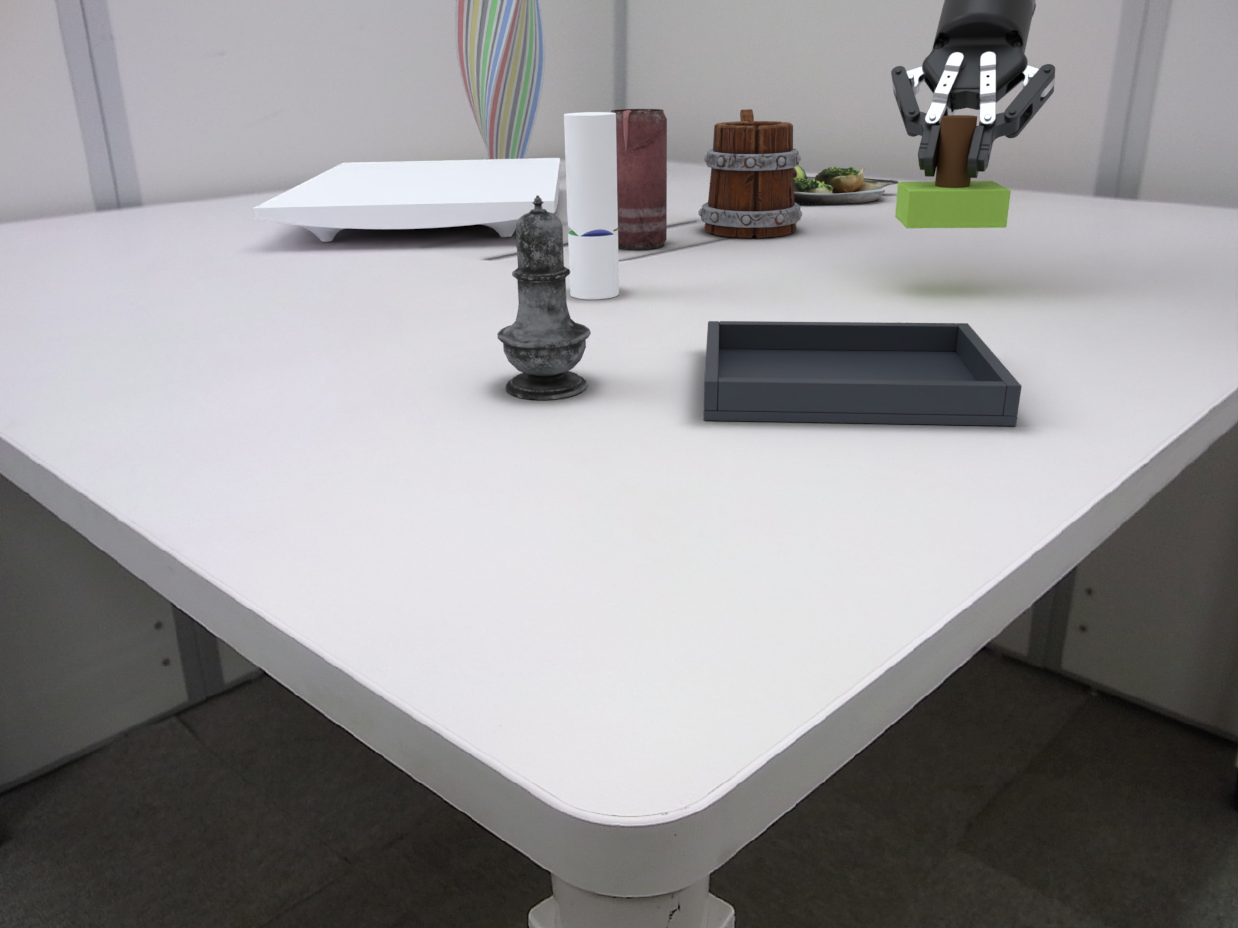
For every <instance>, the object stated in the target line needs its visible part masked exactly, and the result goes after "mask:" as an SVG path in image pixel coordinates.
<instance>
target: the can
mask: <svg viewBox="0 0 1238 928" xmlns="http://www.w3.org/2000/svg"><path fill="white" fill-rule="evenodd" d="M610 112H611V113H616V151H617V209H618V228H617V229H618V249H621V250H629V251H631V250H633V251H634V250H635V251H639V250H640V251H642V250H654V249H659V248H663V246H664V245H665V244H666V241H667V238H668V237H667V233H668V232H667V230H668V229H667V227H668V226H667V225H668V224H667V223H668V218H667V217H668V213H667V212H668V209H667V207H668V202H667V201H668V200H667V199H668V197H667V196H668V195H667V194H668V192H667V191H668V190H667V189H668V183H667V182H668V179H667V178H668V118H667V116H666V114H665V112H664V109H661V108H622V109H621V108H620V109H613V110H611V111H610Z"/></svg>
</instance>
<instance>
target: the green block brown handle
mask: <svg viewBox="0 0 1238 928" xmlns="http://www.w3.org/2000/svg"><path fill="white" fill-rule="evenodd" d="M977 123H978V116H977V115H972V114H971V115H969V114H956V115H955V114H954V115H949V116H942V117H941V127H940V137H939V148H938V159H937V167H936V171H935V181H898V184H897V187H896V188H897V190H896V202H895V215H894V217H895V218H896V219H897V220H898V221H899V223H901V224H902V226H904V228H905V229H995V228H996V229H1005V228H1007V226H1008V225H1007V224H1008V216H1009V208H1010V202H1011V201H1010V199H1011V193H1012V191H1011V189H1009V188H1008V187H1006V186H1004V185H1002V184H999V183H998V182H996V181H993V180H972V178H968V172H967V162H968V156H969V152H970V148H971V143H972V139H973V134H974V130H975V126H978V125H977Z"/></svg>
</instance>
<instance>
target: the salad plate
mask: <svg viewBox="0 0 1238 928" xmlns="http://www.w3.org/2000/svg"><path fill="white" fill-rule="evenodd" d="M864 171H865V168H862V169H861V170H856V169H855V167H854V166H850V167H848V168H845V167H837V166H834V167H833V166H830V167H828V168H824V169H822V170H821V171H820V172H818V173H817V174H816V175H815V176H807V173H806V170H805V169H804V168H803V167H802V166H801V165H800V164H799V165H798V166H796V167H794V168H793V175H794V202H795V203H797V204H798V205H799V206H801V205H802V206H803V205H805V206H808V205H842V204H843V205H845V204H863V203H871V202H874V201H878V200H879V199H880V197H881V196H883V194H885V192H886V190H885V187H888V186H892V185H898V182H899V180H893V179H881V178H868V177H865V175H864Z"/></svg>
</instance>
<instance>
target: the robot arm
mask: <svg viewBox="0 0 1238 928" xmlns="http://www.w3.org/2000/svg"><path fill="white" fill-rule="evenodd" d="M1036 1H1037V0H944V1H943V3H942V8H941V12H940V16H939V21H938V24H937V27H936V32H935V37H934V41H933V45H932V48H931V51H930V53H929V54H928V55H927V56H926V57H925V58H924V60H923V62H922V64H921V66H918V67H915V68H911V69H909V70H907V69H906V67H905V66H903V65H897V66H895V67H893V68H892V69H891V70H890V74H891V82H892V90H893V95H894V96H893V97H894V98H895V102H896V104H897V107H898V110H899V114H900V116H901V117H900V118H901V120H902V122H903V125H904V128H905V131H906V134H907V135H908V136H909V137H911V138H915V137H918V136H919V137H921V138H920V142H919V147H918V151H917V159H918V160H917V161H918V168H919V170H920V171H923V172H924V177H925V178H926V177H929V178H931V177H932V178H934V177H935V176H936V169H937V159H938V148H939V137H940V127H941V117H942V116H949V115H955V113H956V111H958V110H964V109H970V110H974V111H975V110H976V111H979V122H978V125H976V126H975V130H974V134H973V139H972V143H971V148H970V152H969V156H968V162H967V172H968V178H971V179H978V176H979V173H980V172H981V173H982V172H984V173H985V172H986V170H987V169H988V167H989V164H990V158H991V154H992V150H993V145H994V142H995V141H996V140H997V139H998V138H1002V137H1005V138H1007V139H1015V138H1017V137H1018V136H1019V135H1020V134H1021V132H1023V130H1024V129H1025V128H1026V126H1028V124H1029V123H1030V122H1031V120H1033V118H1034V117H1035V116H1036V115H1037V113H1038V112H1039V111H1040V109H1041V108H1042V107H1043V106H1044V105H1045V104H1046V102H1047V101H1048V100H1049V99H1050V98H1051V96H1052V95H1053V94H1054V92H1055V84H1056V83H1055V82H1056V66H1055V65H1053V64H1052V63H1046V64H1043V65H1041V66H1040V67H1036V66H1034V65H1030V64H1028V63H1029V61H1028V57H1027V56H1026V48H1027V43H1028V39H1029V34H1030V30H1031V25H1032V19H1033V17H1034V14H1035V12H1036V7H1037V2H1036ZM923 83H925V84H926V86H927V87H928V88H929V90H930V92H931V93H932V94H933V95H932V100H931V103H930V105H929V108H928V110H927V112H924V111H921V110H920V106H919V104H918V101H917V98H916V96H917V94H919V93H920V86H921V84H923ZM1021 83H1022V89H1021V90H1020V91H1019V93H1018V94H1017V95H1016V96H1015V97H1014V98H1013V100H1012V101H1011V102H1010V103H1009V105H1008V106H1006V108H1005V109H1004V111H1002V112H999V113H997V103H998V102H1000V101H1001V100H1002V99H1004V97H1006V96H1007V95H1008V94H1009V93H1010V92H1012V90H1013V89H1015V88H1016V87H1017V86H1019V85H1020V84H1021Z"/></svg>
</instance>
